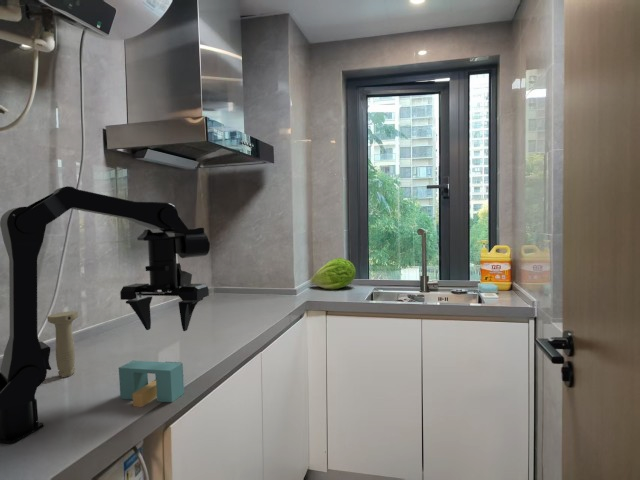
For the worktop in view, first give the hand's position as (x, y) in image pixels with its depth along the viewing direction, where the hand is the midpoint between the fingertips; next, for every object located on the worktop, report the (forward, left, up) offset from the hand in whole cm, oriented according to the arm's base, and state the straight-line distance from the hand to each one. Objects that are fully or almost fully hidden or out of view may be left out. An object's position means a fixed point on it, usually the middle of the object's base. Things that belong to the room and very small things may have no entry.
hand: (166, 330), depth 95 cm
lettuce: (+129, -11, -12) cm, 130 cm away
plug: (-4, 0, -12) cm, 13 cm away
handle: (+2, +29, -12) cm, 32 cm away
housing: (-6, 0, -12) cm, 14 cm away
